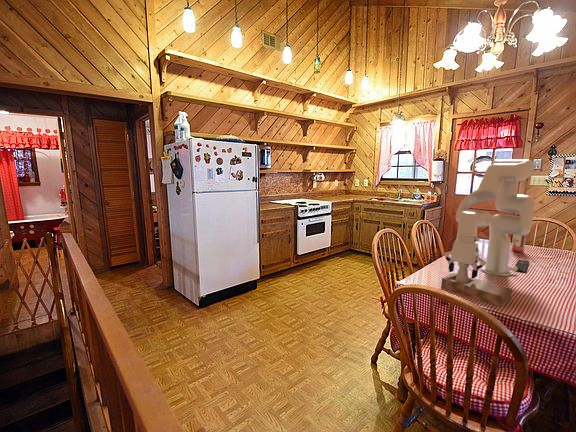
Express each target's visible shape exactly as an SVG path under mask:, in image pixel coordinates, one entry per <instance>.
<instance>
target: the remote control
mask: <svg viewBox="0 0 576 432" xmlns="http://www.w3.org/2000/svg"><path fill="white" fill-rule="evenodd" d="M529 265H530V261H529V260H523V259H518V260H517V262H516V263H515V266H514V267H517V268H518V270H517V271H515V272H517V273H523V274H526V273H527V270H528V268H529Z"/></svg>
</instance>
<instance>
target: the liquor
mask: <svg viewBox="0 0 576 432" xmlns="http://www.w3.org/2000/svg"><path fill="white" fill-rule="evenodd" d="M526 239H527V235H526V236H520V235H514V234H513V239H512V247H511V251H513V252H514V253H518V254H521V253H523V252H525V244H526Z"/></svg>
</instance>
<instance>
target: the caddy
mask: <svg viewBox="0 0 576 432" xmlns="http://www.w3.org/2000/svg"><path fill="white" fill-rule="evenodd" d="M457 273H458V272H457ZM457 273H456V272H453V273H452V272H451V274H448V275H446V276H444V277H441V284H440V285H441V286H440V288H442V287H443V288H442V289H445V290H449V291H452V292H454V291H455V293H457V292H459V293H458V294H460V293H462V294H461V295H463V294H465V295H464V296H466V295H467V296H466V297H469V296H470V297H471V298H472V297H473V299H475V300H479V301H481V302H485V303H487V304H491V305H494V306H497V307H500V308H501V307H503V306H504V305H506V304H507V303H508V302H509V301H511V299H512V297H513V290H514V289H513V288H509V287H506V286H502V285H499V284H495V283H492V282H488V281H485V280H481V279H478V278H474V279H473V278H471V277H472V276H471V277H470V276H468V282H469V283H468V284H465V283H462V282H458V281H455V279H456V276H457Z"/></svg>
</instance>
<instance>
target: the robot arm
mask: <svg viewBox="0 0 576 432" xmlns="http://www.w3.org/2000/svg"><path fill="white" fill-rule="evenodd" d="M534 170H535V163H534V161H532V160H531V159H526V158H525V159H517V158H516V159H512V158H511V159H510V158H509V159H506V158H505V159H496V160H494V161H492V163H491V165H489V166H488V167H487V168H486V170H485V172H484V175H483V177H482V179H481V182H480V183H479V186H478V188H477V189H476V190H475V191H472V192H471V193H469V194H468V195H467V196H465V197H464V198H463V199H462V200H461V202H460V203H459V206H458V208H457V210H456V212H455V220H456V222H457V231H456V232H457V233H456V239H454V241H453V245H452V249H451V251H446V252H443V253H444V257H445V260H446V261H447V264H448V271H449V273H452V272H455V271H454V270H455V263H454V262H456V263H459V262H460V263H464V264H468V265H469V266H471V268H472V271H471V278H473V279H476V277H478V271H479V269H481V271H482V272H484V273H486V274H488V275H489V274H490V275H492V276H498V277H508V276H510V275H511V271H514V272H516V271H517V270H518V268H517V267H515V266H512V265H509V260H510V259H509V258H510V253H511V252H510V251H511V245H512V242H511V240H512V239H511V238H510V237H509V235H513V236H514V235H520V236H526V237H527V236H528V235H529V234H530V233H531V229H532V226H533V225H532V223H533V218H534V212H535V203H536V202H535V199H534V197H533V196H531V195H527V194H519V193H518V192H519V182H522V181H523V180H526V179H528V178H529V177H530V176H531V175H532V174H533V172H534ZM494 198H495V201H494V202H495V204H494V206H495V209H496V210H497V211H499V212H502V213H503V212H504V213H511V214H517V215H518V216H517V215H511V214H504V213H503V214H502V213H497V214H493V215H492V214H491V213H490V212H489V211H486V210H481V209H474V208H473V209H472V208H471V207H472V206H473V205H475V204H478V203H480V202H484V201H488V200H492V199H494ZM486 227H488V228H489V238H488V242H487V243H488V246H487V252H486V253H487V254H486V259H485V260H486V261H485V260H484V259H482V258H481V257H479V243H478V242H480V240H481V238H478V236H477V235H478V228H486ZM508 234H509V235H508ZM478 262H479V264H478Z"/></svg>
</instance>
